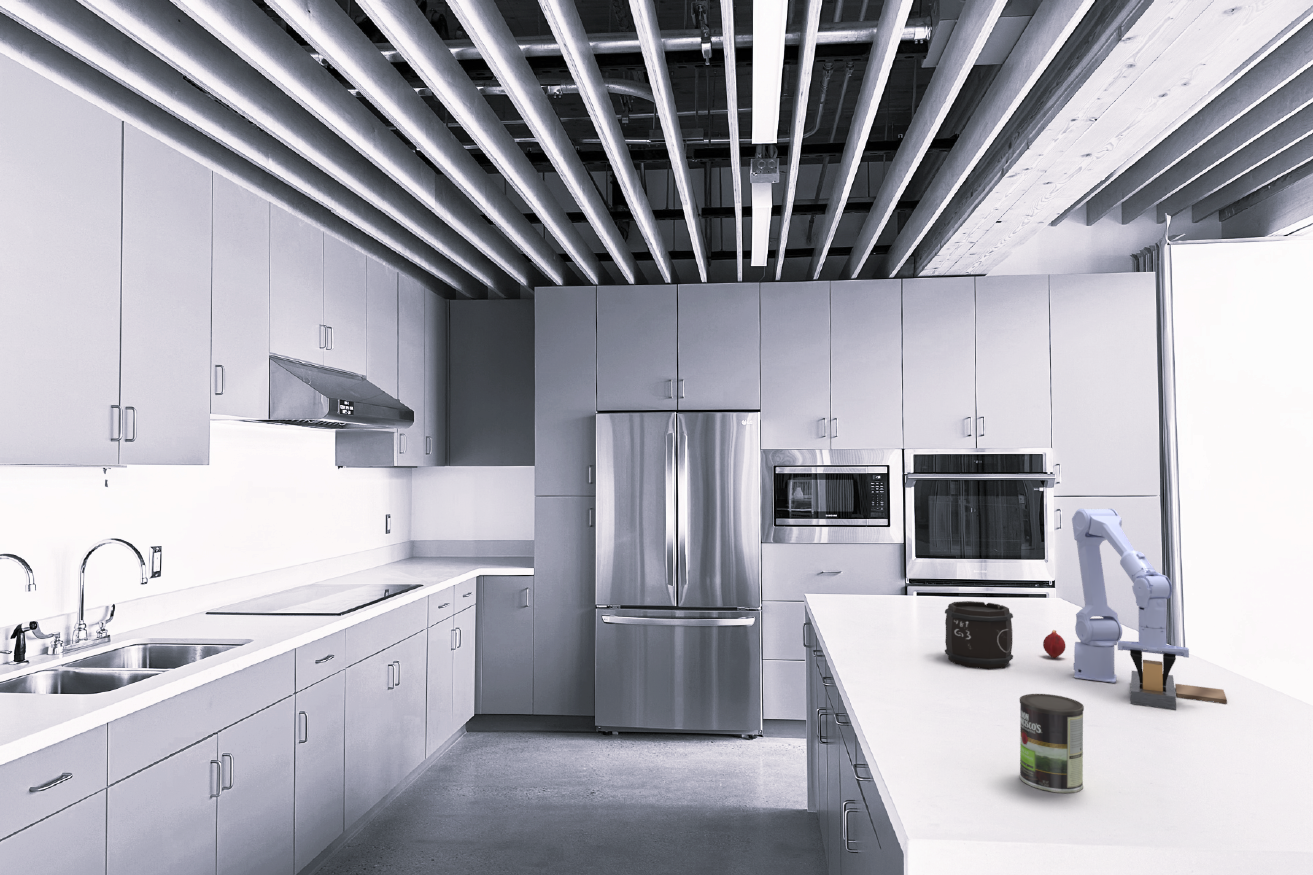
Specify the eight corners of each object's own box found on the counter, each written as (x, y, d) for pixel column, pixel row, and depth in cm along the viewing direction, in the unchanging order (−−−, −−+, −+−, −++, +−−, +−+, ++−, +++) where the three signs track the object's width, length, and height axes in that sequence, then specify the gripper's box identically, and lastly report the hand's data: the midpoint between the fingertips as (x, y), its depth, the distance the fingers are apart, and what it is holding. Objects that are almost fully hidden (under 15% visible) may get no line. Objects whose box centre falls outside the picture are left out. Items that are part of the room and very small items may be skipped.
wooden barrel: (1010, 657, 241) (1010, 602, 241) (1015, 672, 224) (1015, 613, 224) (944, 652, 247) (944, 598, 247) (944, 666, 230) (944, 608, 230)
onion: (1068, 661, 237) (1067, 632, 237) (1046, 659, 238) (1046, 631, 238) (1062, 656, 242) (1062, 628, 242) (1041, 655, 243) (1041, 627, 244)
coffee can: (1039, 794, 142) (1039, 710, 143) (1008, 771, 152) (1008, 693, 153) (1096, 792, 143) (1096, 709, 143) (1062, 770, 153) (1062, 692, 154)
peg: (1143, 701, 198) (1142, 662, 198) (1143, 697, 201) (1142, 659, 201) (1162, 703, 196) (1162, 665, 196) (1162, 699, 199) (1162, 661, 199)
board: (1176, 697, 201) (1176, 693, 201) (1175, 687, 210) (1175, 683, 210) (1226, 703, 196) (1226, 699, 196) (1223, 693, 205) (1223, 689, 205)
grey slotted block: (1130, 703, 196) (1130, 690, 196) (1131, 682, 215) (1131, 670, 215) (1176, 709, 191) (1175, 696, 191) (1173, 687, 210) (1172, 675, 210)
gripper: (1117, 625, 199) (1117, 683, 199) (1189, 632, 192) (1189, 692, 192) (1117, 620, 205) (1118, 676, 205) (1187, 627, 198) (1188, 685, 198)
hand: (1152, 683), depth 199 cm, fingers closed on peg, 4 cm apart
